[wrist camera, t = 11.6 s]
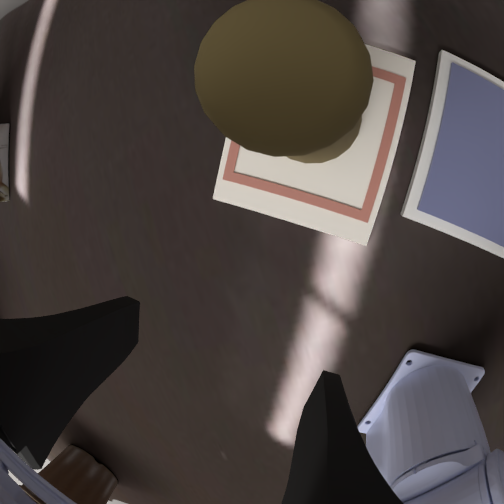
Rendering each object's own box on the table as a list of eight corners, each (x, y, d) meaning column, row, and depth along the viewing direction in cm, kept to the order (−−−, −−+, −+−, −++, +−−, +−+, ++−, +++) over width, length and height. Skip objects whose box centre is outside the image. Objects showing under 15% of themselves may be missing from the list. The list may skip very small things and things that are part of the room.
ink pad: (506, 258, 16) (512, 263, 15) (400, 213, 17) (403, 217, 16) (542, 113, 12) (550, 112, 11) (438, 52, 13) (443, 48, 12)
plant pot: (142, 497, 42) (106, 553, 27) (91, 478, 48) (56, 522, 33) (96, 447, 39) (45, 508, 24) (50, 429, 44) (5, 474, 29)
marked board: (365, 244, 18) (366, 246, 18) (215, 197, 20) (212, 199, 19) (413, 63, 14) (416, 60, 13) (257, 25, 16) (255, 22, 15)
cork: (249, 79, 17) (148, 8, 6) (347, 57, 15) (351, -51, 5) (272, 172, 18) (186, 198, 8) (371, 154, 16) (424, 154, 6)
